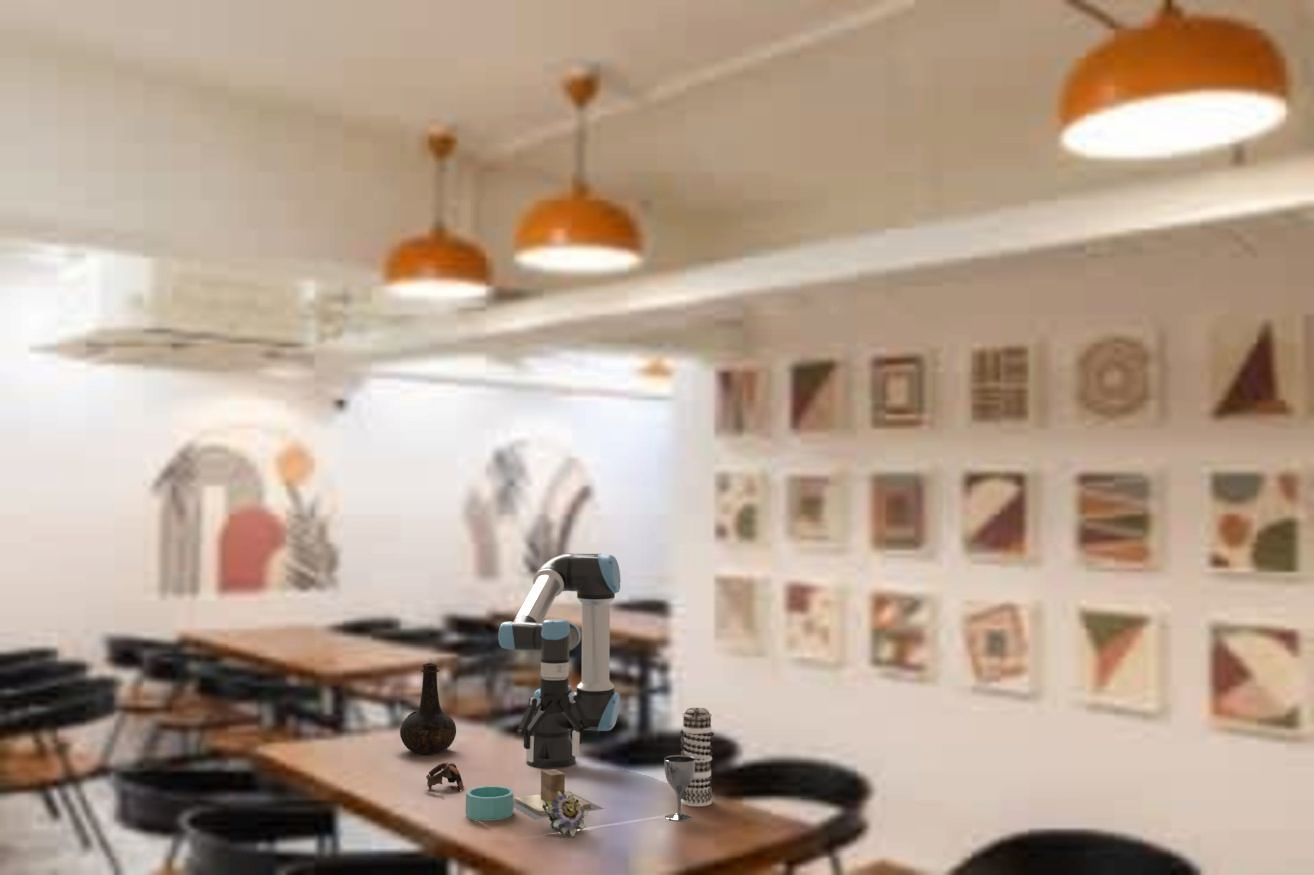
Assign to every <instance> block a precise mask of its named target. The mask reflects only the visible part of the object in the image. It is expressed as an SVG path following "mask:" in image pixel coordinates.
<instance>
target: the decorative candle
mask: <svg viewBox="0 0 1314 875" xmlns="http://www.w3.org/2000/svg"><path fill="white" fill-rule="evenodd" d="M682 716H683V725H682V729H681V731H679V734H680V736H682V737H681V738H680V740H679V742H680V743H681V744H680V748H681V749H682V750H681V752H680V755H685V756H691V757H694V758H695V771H694V776H693V780H692V782H691V783H690V784H689V786H688V787H687V788H686V789H685V790H684V792H683V794H682V798H681V805H683V806H684V805H685V806H689V807H706V806H710V805H711V804H712V802H713V801H712V797H713V794H712V793H713V789H712V785H713V783H712V780H713V776H712V769H711V761H712V760H713V757H712V755H713V754H714V752H713V751H712V750H713V749H714V746H713V745H712V744H711V743H712V742H714V738H713V737H714V736H715V733H714V732H713V731H712V724H711V723H712V717H713V715H712V714H711V713H710V711H709V710H708V709H707V708H705V707H704V708H703V707H690V708H687V709H686V710H685V712H684V713H682Z"/></svg>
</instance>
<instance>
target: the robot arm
mask: <svg viewBox="0 0 1314 875" xmlns="http://www.w3.org/2000/svg"><path fill="white" fill-rule="evenodd" d="M620 591H621V572H620V566H619V563H618V560H617V559H616V557H615V556H613V555H612V554H606V553H605V554H603V553H571V552H570V553H563V554H558V555H557V556H555V557H552V558H551V559H549V560H548V561H546V562H545V563H544V564H542V566H540V567H539V569H538V570H537V572H536V573H535V575H534V576H533V579H532V587H531V589H530V591H529V593H528V594H527V595H526V596H527V597H526V598H525V600H524V602H523V603H522V606H520V608H519V610H518V613H517V614H516V616H515V618H513V621H510V620H509V621H504V622H501V624H500V626H499V628H498V638H497V639H498V643H499V646H500V647H501V648H502V649H506V650H507V649H508V650H512V651H515V650H517V651H523V650H524V651H540V654H541V655H540V657H541V658H540V677H541V678H540V680H539V681H540V682H539V683H540V684H539V685H540V687H539V688H538V689H536V690H535V692H534V693H533V697H532V696H530V697H529V699H528V706H527V708H526V710H525V712H524V714H523V717H522V719H521V721H520V723H519V725H518V728H517V729H516V732H517V734H519V735H522V736H523V748H524V749H526V750H525V751H526V753H525V754H526V756H525V760H526V764H527V765H528V766H529V765H530V766H532V767H538V768H549V769H550V768H551V769H555V768H562V767H563V768H565V767H568V766H573V765H575V764H576V758H579V757H580V744H582V742H583V733H584V732H585V731H597V732H600V731H603V732H604V731H605V732H606V731H611V730H613V728H614V727H615V726H616V723H617V720H618V715H619V711H620V704H621V703H620V702H621V695H620V693H619V692H617V691H615V685H614V684H613V683H612V682H611V680H610V652H611V650H610V646H611V645H610V641H611V640H610V636H611V634H610V631H611V630H610V628H611V626H610V625H611V622H610V621H611V619H610V618H611V617H610V616H611V615H610V614H611V613H610V612H611V611H610V610H611V607H610V606H611V605H610V604H611V603H612V601H614V599H615V598H616V596H615V595H616V594H617V593H619V592H620ZM562 592H576V598H577V599H578V600H579V602H581V631H580V629H579V627H578V626H577V624H575V623H572V622H570V621H569V620H567V619H562V618H561V619H560V618H552V619H545V618H546V616H547V614H548V612H549V610H550V608H551V606H552V605H553V603H554V601H555V599H556V597H559V596H560V595H561V594H562ZM544 619H545V620H544ZM580 642H581V680H580V681H579V683H578V684H577V685H576V690H572V686H571V685H570V684H569V682H570V681H569V679H568V677H569V676H570V675H569V674H570V671H569V669H570V666H569V665H570V651H572V650H574V649H575V648H576V647H577V646H578V645H579V643H580ZM571 730H572V732H571ZM571 734H572V737H571Z"/></svg>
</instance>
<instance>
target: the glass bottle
mask: <svg viewBox="0 0 1314 875" xmlns="http://www.w3.org/2000/svg"><path fill="white" fill-rule="evenodd" d="M440 671H441V670H440V669H438V665H437V664H436V663H431V662H430V663H429V662H428V663H423V664H422V668H421V669H420V672H421V673H422V687H421V693H420V694H421V696H420V701H419V702H420V703H419V706H418V710H415V711H413V712H411V713H409V714H408V715H407V716H406V718H404V720H403V721H402V723H401V726H400V729H399V736H400V739H401V742H402V743H403V745H404V746H405V747H406V749H407V750H409V751H410V752H411V753H413V754H416V755H424V754H425V755H434V754H435V753H436V754H439V753H442V752H444V751H445V750H448V748H449V747H450V746H451V745H452V744H453V743H454V741H455V738H456V735H457V726H456V723H455V721H454V720H453V719H452V717H451V716H449V715H448V714H447V713H445V712H443V710H442V708H441V704H440V700H439V699H440V697H439V689H438V674H437V673H439V672H440Z"/></svg>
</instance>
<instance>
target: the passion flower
mask: <svg viewBox="0 0 1314 875" xmlns="http://www.w3.org/2000/svg"><path fill="white" fill-rule="evenodd" d="M573 794H574V793H573ZM573 794H571V795H570V796H569V797H568V798H567V797H566V795H564V796H563V795H562V794H561V792H560V791H557V798H556V799H555V800H553V801H552V802H553V804H552V807H549V804H551V803H552V802H548V801H546V802H545V803H546V805H544V804H543V806H542V807H543V809H544V810H545V813H547V814H548V816H549V817H548V820H549V821H550V827H551V828H552V829H553V828H557V827H558V828H559V831H560V833H561V835H562V836H565V835H566V834H567V835H568V836H569V837H571V838H573V837H575V835H576V828H579V829H580V830H584V829H585V824H584V823H585V822H584V821H585V820H584V819H585V817H586V816H588V815H589V812H590V811H585V810H584V809H583V803H578V802H579V801H578V799H577V800H575V798H574V795H573ZM574 800H575V801H574ZM546 807H548V809H546ZM550 815H551V816H550Z"/></svg>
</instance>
